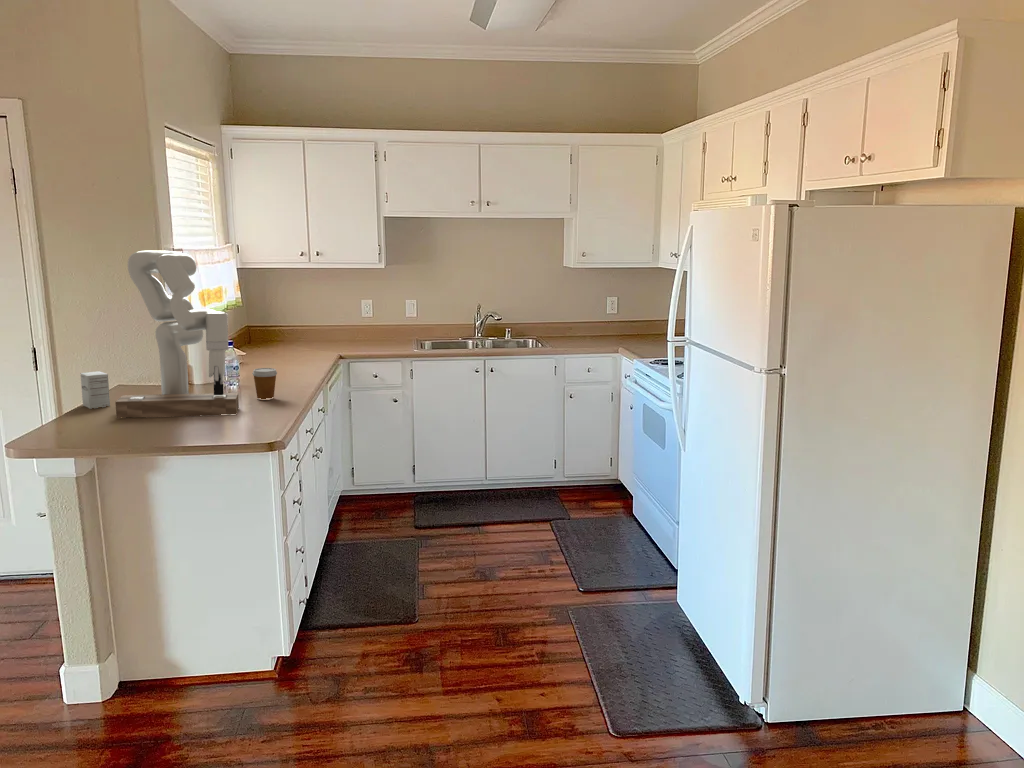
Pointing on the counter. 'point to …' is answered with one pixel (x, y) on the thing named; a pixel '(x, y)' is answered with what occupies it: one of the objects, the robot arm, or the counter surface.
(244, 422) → the counter surface
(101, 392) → the supplement box
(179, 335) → the robot arm
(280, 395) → the counter surface
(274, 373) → the disposable coffee cup
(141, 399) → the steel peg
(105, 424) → the counter surface
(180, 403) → the walnut block
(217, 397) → the white peg
